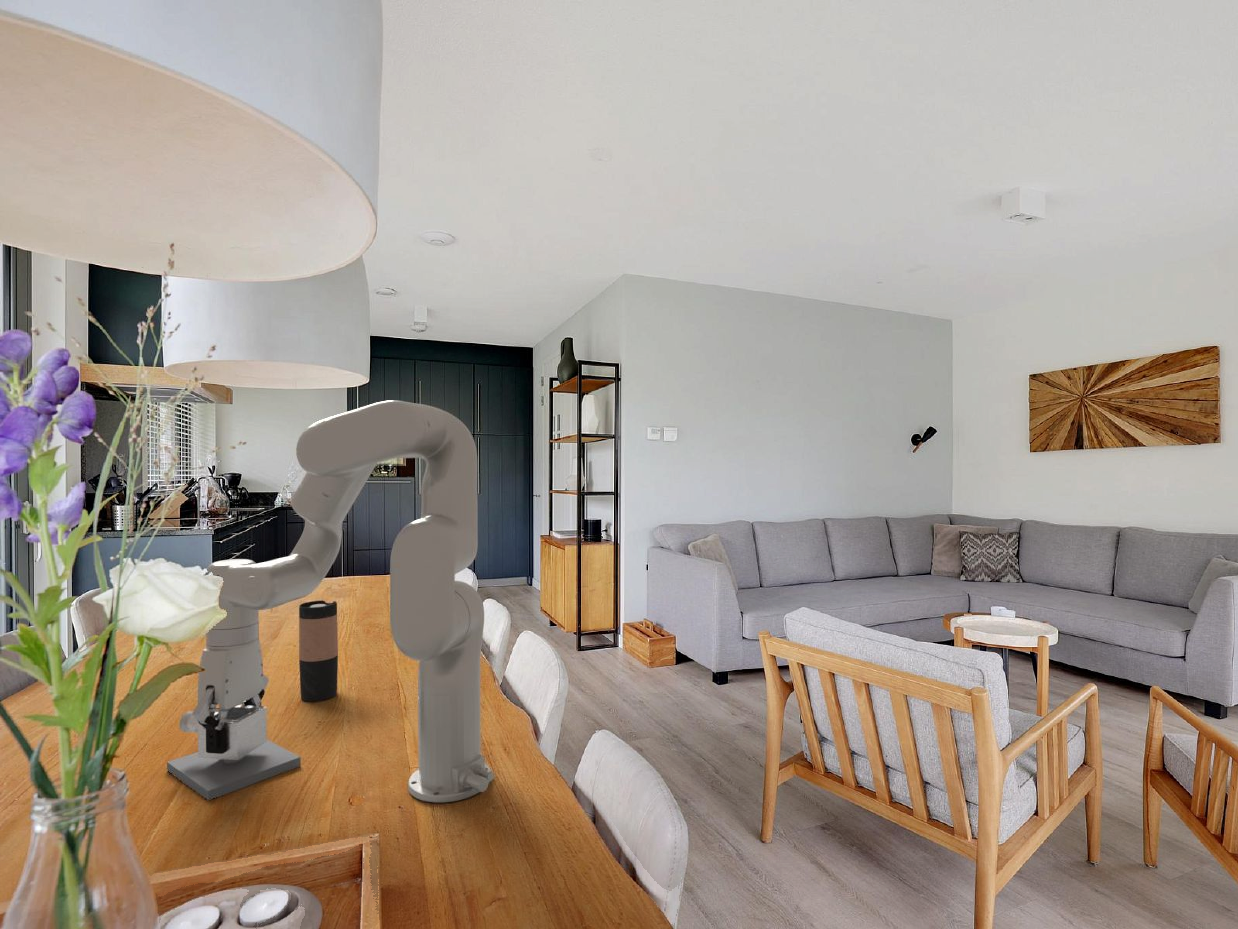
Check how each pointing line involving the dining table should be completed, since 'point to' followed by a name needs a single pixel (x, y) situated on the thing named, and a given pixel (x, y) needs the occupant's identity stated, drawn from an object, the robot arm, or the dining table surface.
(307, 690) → the travel mug
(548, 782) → the dining table surface
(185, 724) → the grey hollow block
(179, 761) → the plate
